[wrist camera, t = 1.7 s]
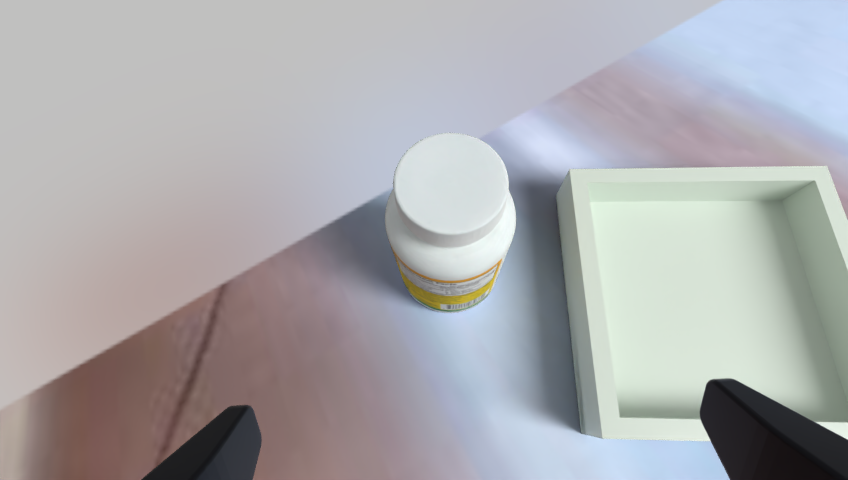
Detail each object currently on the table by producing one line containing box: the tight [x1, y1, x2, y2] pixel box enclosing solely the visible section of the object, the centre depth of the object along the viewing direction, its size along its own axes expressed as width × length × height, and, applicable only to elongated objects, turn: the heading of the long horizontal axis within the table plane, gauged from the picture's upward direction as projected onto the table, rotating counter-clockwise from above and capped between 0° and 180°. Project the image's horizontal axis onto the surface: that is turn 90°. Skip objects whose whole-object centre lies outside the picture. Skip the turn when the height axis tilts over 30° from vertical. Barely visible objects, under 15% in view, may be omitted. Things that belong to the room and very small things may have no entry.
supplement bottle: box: [385, 133, 516, 313], centre depth 19 cm, size 5×5×10 cm
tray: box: [556, 166, 848, 441], centre depth 20 cm, size 13×13×3 cm
